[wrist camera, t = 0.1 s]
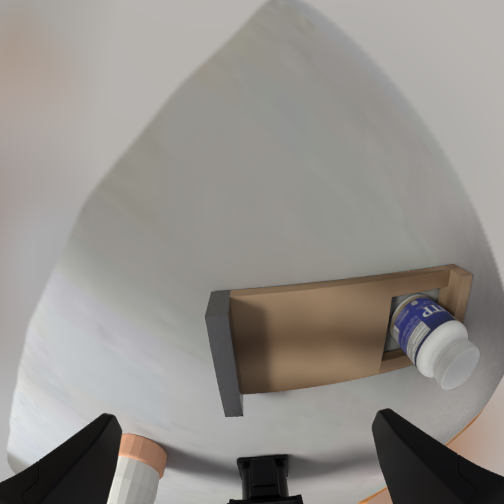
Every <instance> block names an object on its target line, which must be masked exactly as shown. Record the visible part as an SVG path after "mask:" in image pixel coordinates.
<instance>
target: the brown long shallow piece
mask: <svg viewBox="0 0 504 504" xmlns="http://www.w3.org/2000/svg"><path fill="white" fill-rule="evenodd" d="M472 277H473V274H471V273H469V272H468V271H466V270H464V269H462V268H460V267H458V266H456V265H455V264H451V265H445V266H439V267H432V268H426V269H419V270H412V271H405V272H398V273H390V274H383V275H375V276H367V277H359V278H351V279H343V280H334V281H325V282H316V283H306V284H296V285H286V286H276V287H265V288H253V289H241V290H228V291H215V292H211V295H210V299H209V303H208V307H207V311H206V314H205V320H206V325H207V331H208V336H209V342H210V347H211V352H212V357H213V362H214V367H215V372H216V377H217V382H218V386H219V391H220V396H221V400H222V405H223V409H224V413H225V417H238V416H243V394H255V393H267V392H277V391H286V390H295V389H302V388H309V387H316V386H322V385H328V384H334V383H339V382H345V381H350V380H355V379H359V378H364V377H368V376H373V375H377V374H381V373H385V372H389V371H393V370H397V369H400V368H404V367H407V366H411V365H414V364H413V362H412V361H411V360H410V358H409V357H408V356H407V355H406V353H405V352H404V351H403V350H402V349H398V350H394V351H390V352H386V353H383V350H384V345H385V339H386V333H387V327H388V321H389V314H390V307H391V299H392V297H395V296H400V295H406V294H412V293H417V292H422V291H427V290H432V289H437V288H440V291H439V297H438V302H437V304H439V305H440V306H441V307H442V308H444V309H445V310H446V311H448V312H449V313H450V314H451V315H452V316H454V317H455V318H456V319H457V320H458V321H460V322H461V323H462V322H463V319H464V315H465V310H466V306H467V302H468V297H469V292H470V287H471V282H472Z"/></svg>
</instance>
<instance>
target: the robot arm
mask: <svg viewBox="0 0 504 504" xmlns="http://www.w3.org/2000/svg"><path fill="white" fill-rule="evenodd" d="M372 432H373V437H374V441H375V446H376V450H377V455H378V459H379V464H380V467H381V470H382V473H383V475H384V478H385V481H386V484H387V487H388V490H389V493H390V496H391V499H392V502H393V504H504V477H503V476H501V475H498V474H496V473H494V472H491V471H489V470H487V469H484V468H482V467H480V466H478V465H476V464H474V463H472V462H471V461H469V460H467V459H465V458H464V457H462V456H460V455H458V454H457V453H456V452H454V451H452V450H451V449H449V448H448V447H446V446H445V445H443V444H442V443H440V442H438V441H437V440H435V439H434V438H432V437H431V436H429V435H428V434H426V433H425V432H423V431H422V430H420V429H419V428H417V427H416V426H414V425H413V424H411V423H410V422H409V421H407V420H406V419H404V418H403V417H401V416H400V415H398V414H397V413H396V412H394V411H393V410H391V409H389V408H387V409H383V410H379V411H378V412H377V414H376V417H375V419H374V421H373V424H372ZM121 438H122V429H121V427H120V425H119V423H118V421H117V419H116V417H115V416H114V415H112V414H107V413H103V414H102V415H100V416H99V417H98V418H96V419H95V420H94V421H92V422H91V423H90V424H88V425H87V426H86V427H84V428H83V429H82V430H80V431H79V432H78V433H76V434H75V435H73V436H72V437H71V438H69V439H68V440H67V441H65V442H64V443H63V444H61V445H60V446H58V447H57V448H56V449H54V450H53V451H51V452H50V453H49V454H47V455H46V456H44V457H43V458H42V459H40V460H39V462H38V461H37V462H36V463H34V464H33V465H31V466H30V467H28V468H27V469H25V470H24V471H22V472H20V473H18V474H16V475H15V476H13V477H11V478H9V479H7V480H5V481H2V482H1V483H0V504H107V502H108V498H109V494H110V490H111V486H112V483H113V479H114V476H115V472H116V468H117V462H118V456H119V450H120V444H121ZM237 465H238V469H239V472H240V476H241V479H242V500H234V499H230V500H229V503H227V504H303V500H302V496H301V494H300V495H297V496H289V493H288V486H287V478H286V477H288V456H287V455H280V456H269V457H256V458H239V459H237Z"/></svg>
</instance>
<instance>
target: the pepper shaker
mask: <svg viewBox="0 0 504 504" xmlns="http://www.w3.org/2000/svg"><path fill="white" fill-rule="evenodd" d="M166 460H167V454H166V452H165V450H164V449H163V448H162V447H161V446H159V445H158V444H156V443H155V442H153V441H151V440H149V439H146V438H144V437H141V436H137V435H132V434H122V438H121V444H120V450H119V456H118V462H117V468H116V472H115V476H114V479H113V483H112V486H111V490H110V494H109V498H108V502H107V504H153V503H154V501H155V498H156V494H157V488H158V482H159V480H160V479H161V478H162V477H163V474H164V469H165V464H166Z"/></svg>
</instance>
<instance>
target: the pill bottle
mask: <svg viewBox="0 0 504 504" xmlns="http://www.w3.org/2000/svg"><path fill="white" fill-rule="evenodd" d="M390 333H391V335H392V337H393V338H394V340H395V341H396V342H397V343H398V345H399V346H400V347H401V348H402V350H403V351H404V352H405V353H406V355H407V356H408V357H409V358H410V360H411V361H412V362H413V364H414V365H415V366H416V368H417V369H418V370H419V371H420V373H421V374H423V375H424V376H426V377H431V378H433V377H434V378H435V379H436V381H437V382H438V383H439V385H440V386H441V387H442V388H443V389H444V390H452V389H454V388H457V387H458V386H460V385H461V384H462V383H464V382H465V381H466V380H467V379H468V378H469V377H470V375H471V374H472V373H473V371H474V370H475V368H476V366H477V364H478V361H479V358H480V352H479V349H478V348H477V347H476V346H475V345H474V344H473V343H472V342H471V341H469V340H468V333H467V330H466V328H465V326H464V325H463V324H462V323H461V322H460V321H458V320H457V319H456V318H455V317H454V316H452V315H451V314H450V313H449V312H448V311H446V310H445V309H444V308H442V307H441V306H440V305H439V304H437V303H436V302H435V301H433V300H432V299H431V298H429V297H428V296H426V295H423V294H416V295H412V296H410V297H408V298H407V299H405V300H404V301H403V302H402V303H401V304H400V305H399V306H398V307H397V308H396V310H395V311H394V313H393V315H392V318H391V321H390Z"/></svg>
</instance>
